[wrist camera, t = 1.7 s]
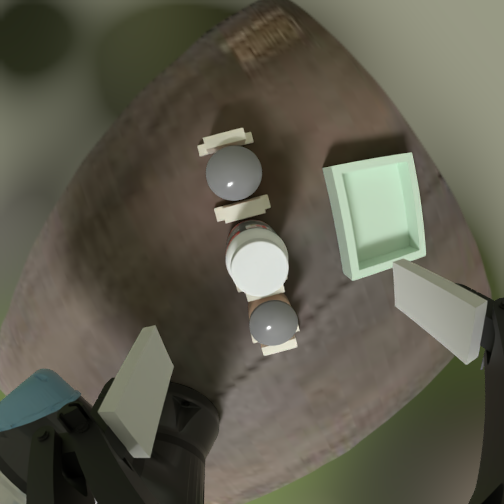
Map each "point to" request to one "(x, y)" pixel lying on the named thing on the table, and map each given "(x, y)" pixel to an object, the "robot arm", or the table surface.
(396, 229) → the tray
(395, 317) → the table surface
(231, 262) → the pill bottle
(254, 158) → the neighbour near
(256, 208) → the cream flat pieces
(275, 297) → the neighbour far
